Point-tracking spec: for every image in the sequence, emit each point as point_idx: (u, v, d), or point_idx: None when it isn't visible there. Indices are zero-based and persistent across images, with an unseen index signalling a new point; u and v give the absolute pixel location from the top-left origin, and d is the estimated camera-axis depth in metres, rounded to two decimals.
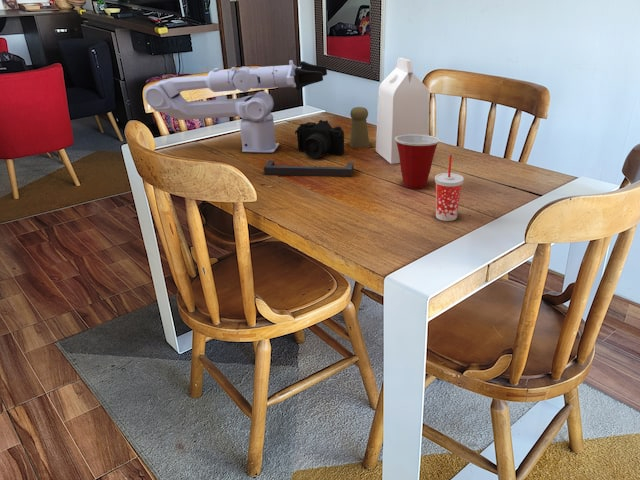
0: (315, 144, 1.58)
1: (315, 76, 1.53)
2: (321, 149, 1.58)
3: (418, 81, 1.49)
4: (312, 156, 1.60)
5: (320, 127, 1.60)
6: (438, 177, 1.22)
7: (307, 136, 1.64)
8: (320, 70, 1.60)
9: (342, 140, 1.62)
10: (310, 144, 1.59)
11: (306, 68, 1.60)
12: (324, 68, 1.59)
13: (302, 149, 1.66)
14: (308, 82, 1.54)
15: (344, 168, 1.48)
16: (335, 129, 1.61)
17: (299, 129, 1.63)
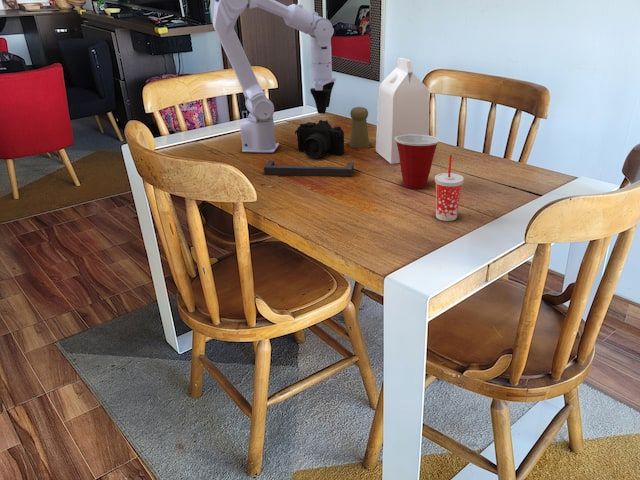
0: (315, 144, 1.58)
1: (321, 107, 1.66)
2: (321, 149, 1.58)
3: (418, 81, 1.49)
4: (312, 156, 1.60)
5: (320, 127, 1.60)
6: (438, 177, 1.22)
7: (307, 136, 1.64)
8: None
9: (342, 140, 1.62)
10: (310, 144, 1.59)
11: (328, 88, 1.71)
12: (327, 105, 1.73)
13: (302, 149, 1.66)
14: (316, 100, 1.65)
15: (344, 168, 1.48)
16: (335, 129, 1.61)
17: (299, 129, 1.63)
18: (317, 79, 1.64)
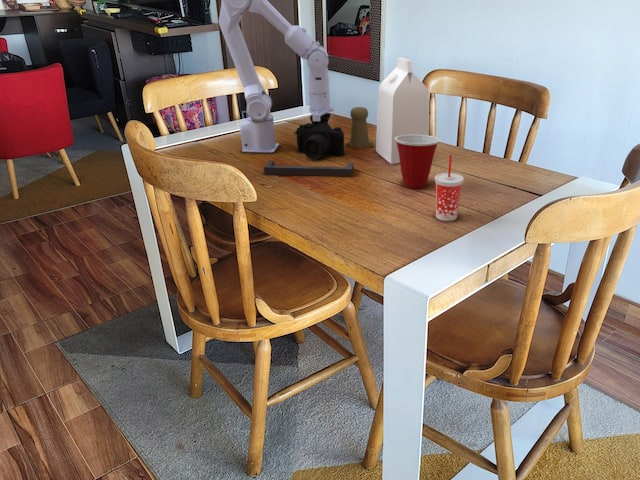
0: (315, 146, 1.57)
1: None
2: (321, 150, 1.57)
3: (418, 81, 1.49)
4: (312, 157, 1.59)
5: (320, 128, 1.59)
6: (438, 177, 1.22)
7: (307, 137, 1.63)
8: None
9: (342, 141, 1.61)
10: (310, 145, 1.58)
11: None
12: None
13: (302, 150, 1.65)
14: None
15: (344, 168, 1.48)
16: (335, 130, 1.60)
17: (299, 130, 1.63)
18: (315, 109, 1.61)
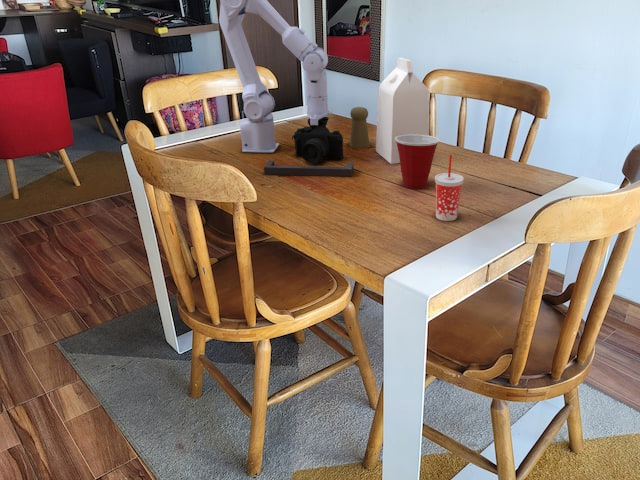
0: (314, 150, 1.54)
1: None
2: (320, 154, 1.54)
3: (418, 81, 1.49)
4: (311, 162, 1.56)
5: (318, 131, 1.55)
6: (438, 177, 1.22)
7: (305, 141, 1.59)
8: None
9: (341, 144, 1.58)
10: (308, 149, 1.54)
11: None
12: None
13: (300, 154, 1.62)
14: None
15: (344, 168, 1.48)
16: (333, 133, 1.57)
17: (296, 134, 1.59)
18: (312, 113, 1.58)
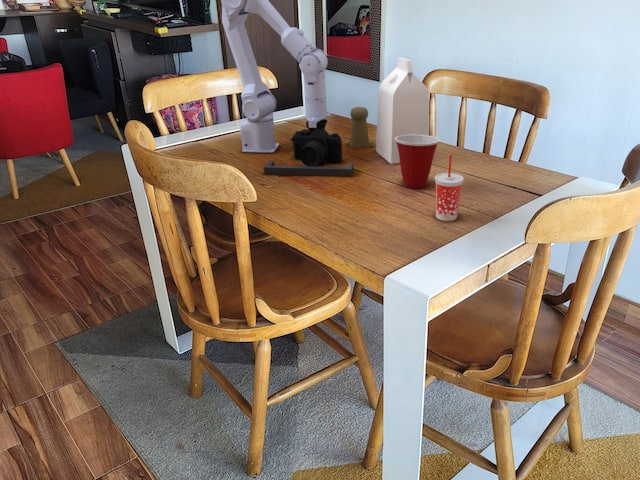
0: (312, 153, 1.52)
1: None
2: (318, 157, 1.52)
3: (418, 81, 1.49)
4: (309, 165, 1.53)
5: (316, 134, 1.53)
6: (438, 177, 1.22)
7: (303, 144, 1.57)
8: None
9: (340, 147, 1.55)
10: (307, 152, 1.52)
11: None
12: None
13: (298, 157, 1.60)
14: None
15: (344, 168, 1.48)
16: (332, 136, 1.54)
17: (295, 137, 1.57)
18: (311, 115, 1.56)
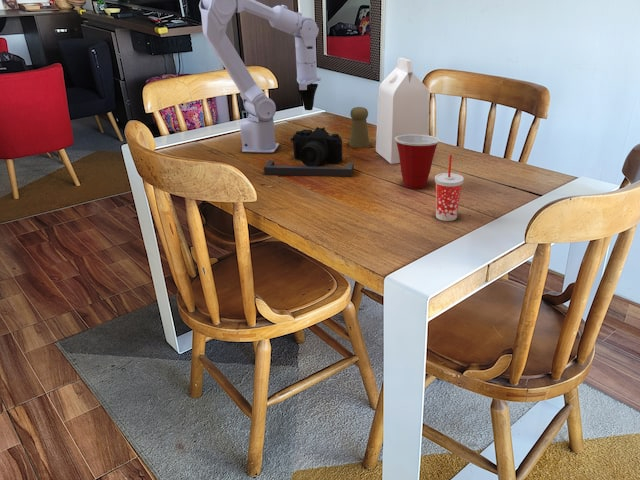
0: (312, 153, 1.52)
1: (308, 104, 1.70)
2: (319, 158, 1.52)
3: (418, 81, 1.49)
4: (309, 165, 1.53)
5: (317, 134, 1.53)
6: (438, 177, 1.22)
7: (303, 144, 1.57)
8: None
9: (340, 148, 1.55)
10: (307, 152, 1.52)
11: None
12: None
13: (298, 157, 1.60)
14: (303, 97, 1.68)
15: (344, 168, 1.48)
16: (333, 136, 1.54)
17: (295, 137, 1.57)
18: (302, 79, 1.64)
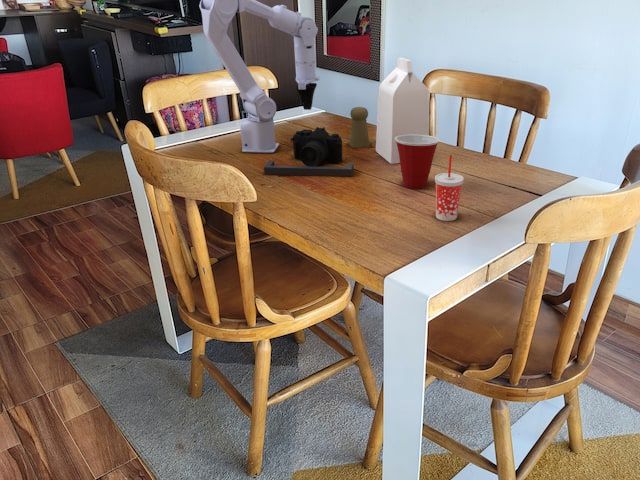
0: (312, 153, 1.52)
1: (307, 103, 1.70)
2: (319, 158, 1.52)
3: (418, 81, 1.49)
4: (309, 165, 1.53)
5: (317, 134, 1.53)
6: (438, 177, 1.22)
7: (303, 144, 1.57)
8: None
9: (340, 148, 1.55)
10: (307, 152, 1.52)
11: None
12: None
13: (298, 157, 1.60)
14: (302, 96, 1.69)
15: (344, 168, 1.48)
16: (333, 136, 1.54)
17: (295, 137, 1.57)
18: (300, 78, 1.65)
